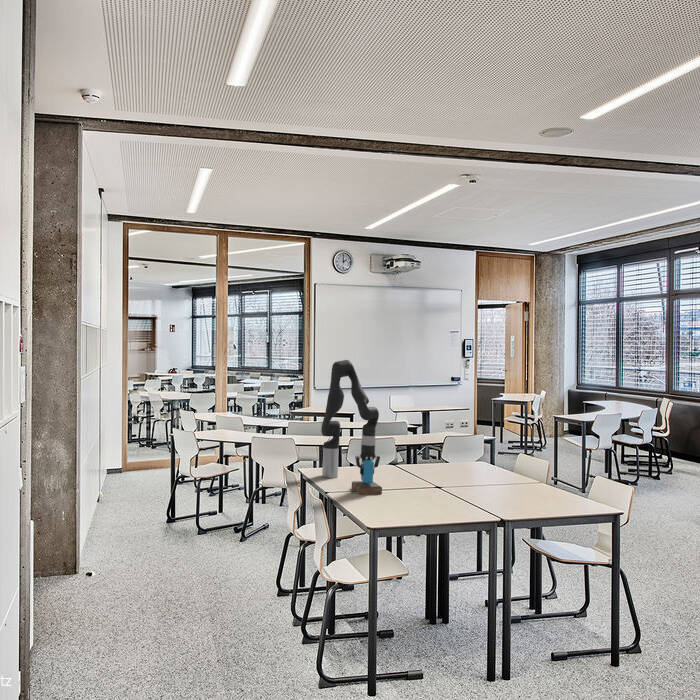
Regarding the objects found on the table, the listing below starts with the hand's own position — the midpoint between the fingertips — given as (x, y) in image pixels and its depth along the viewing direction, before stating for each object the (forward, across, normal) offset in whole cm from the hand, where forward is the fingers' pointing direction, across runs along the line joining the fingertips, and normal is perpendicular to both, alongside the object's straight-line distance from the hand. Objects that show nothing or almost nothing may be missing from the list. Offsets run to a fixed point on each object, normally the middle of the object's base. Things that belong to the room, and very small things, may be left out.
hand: (366, 475), depth 345 cm
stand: (+9, 0, 0) cm, 9 cm away
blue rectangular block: (+4, 0, 0) cm, 4 cm away
